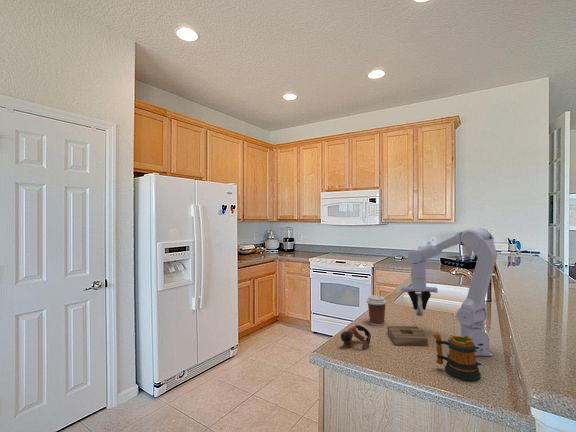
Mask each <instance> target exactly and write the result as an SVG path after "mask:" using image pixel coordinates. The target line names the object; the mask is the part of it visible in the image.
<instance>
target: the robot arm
mask: <svg viewBox="0 0 576 432" xmlns="http://www.w3.org/2000/svg"><path fill="white" fill-rule="evenodd" d="M494 241H495V237H494V236H493V234H491V232H490V231H489V230H488V229H486V228H477V229H471V228H470V229H466V230H464V231H459V232H457V233H455V234H453V235H451V236H449V237H447V238H445V239H443V240H441V241H439V242H436V241H427V242H426V244H425V245H423V246H422V245H421V246H417V248H416V249H411V250H410V251H408V253H407V259H408V261H409V262H410V271H411V273H410V275H411V282H410V283H411V286H401V287H400V292H401V293H407V295H408V296H409V299H410V301H411V303H412V307H413V309H414V311H416V310H417V304H416V300H417V295H416V293H422V294H423V311H426V310H427V309H426V308H427V305H428V302H429V299H430V298H431V295H432V294H431V293H435V294H437V293H439V292H438V288H437V287H435V286H427V273H426V272H427V271H426V270H427V267H426V265H427V262H428V260H430V259H433V258H434V257H438V256H440V255H442V251H444V250H447V249H448V248H452V247H454V246H457V245H461V246H462V245H464V246H465V247H466V248H467V249H469V250H470V251H471V252H472V253H473V254H474V255H475V256H476V257H477V259H476V264H475V267H474V271H473V274H472V277H471V282H470V285H469V289H468V292H467V296H466V298H465V299H464V300H463V302H462V303H461V306H460V307H459V309H457V311H456V314H455V315H456V316H455V317H456V319H457V321H458V322H459V325H460V336H461V337H464V336H468V337H470V338H471V340H472V341H473V343H474V345H475V347H479V348H480V349H476V351H477V352H475V356H477V357H478V356H481V357H482V356H483V357H490V356H491V357H492V356H493V354H492V353H491V352H490V338H489V335H488V333H487V332H486V331H485V329H484V321H486V319H487V317H488V315H487V309H486V308H487V304H486V303H485V301H486V296H487V294H488V293H487V292H488V289H489V286H490V283H491V279H492V275H493V272H494V268H495V265H496V262H497V258H498V253H497V250H496V246H495V243H494Z"/></svg>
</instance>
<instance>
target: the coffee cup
mask: <svg viewBox="0 0 576 432" xmlns="http://www.w3.org/2000/svg"><path fill="white" fill-rule="evenodd" d="M366 303H367V305H368V308H367V309H368V317H369V324H370V325H373V326H384V325H385V317H386V305H387V303H388V301H387V300H386V299H385V297H384V296H382V295H378V294H377V295H369V296H368V298H367V299H366Z"/></svg>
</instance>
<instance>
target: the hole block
mask: <svg viewBox="0 0 576 432" xmlns="http://www.w3.org/2000/svg"><path fill="white" fill-rule="evenodd" d="M387 335H388V336H389V337H390V339H391V341H392V342H393V344H394V346H413V347H414V346H415V347H416V346H418V347H428V344H429V340H428V337H427V336H426V335H425V333H424V332H422V330H421V329H420V328H419V327H418V326H415V325H414V326H410V325H409V326H406V325H387Z"/></svg>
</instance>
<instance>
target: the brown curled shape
mask: <svg viewBox="0 0 576 432" xmlns="http://www.w3.org/2000/svg"><path fill="white" fill-rule="evenodd" d="M359 332H364V335H363V334H361V333H359ZM365 336H366V337H365ZM353 337H354V338H356V339H357V340H359V341H360V342H361V343H362V346H361V349H362V350H366V349H367V347H368V346H369V345H370V344H371V338H372V335H371V333H370V331H369V330H368V329H367V328H366V327H365V326H362V325H360V324H355V325H354V326H352V327H350V328H348V330H344V331H342V332H341V334H340V339H341V341H342V342H343V344H344V345H346V346H349V345H350V342H351V341H352V339H353Z"/></svg>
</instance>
